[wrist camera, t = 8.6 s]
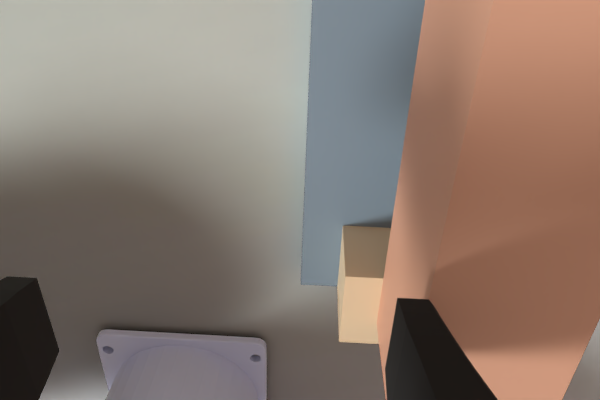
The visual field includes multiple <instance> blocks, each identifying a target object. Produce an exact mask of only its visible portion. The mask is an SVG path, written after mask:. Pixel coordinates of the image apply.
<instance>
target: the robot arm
mask: <svg viewBox="0 0 600 400" xmlns="http://www.w3.org/2000/svg"><path fill="white" fill-rule="evenodd" d="M96 343H97V347H98V351H99V355H100V359H101V363H102V367H103V370H104V374H105V378H106V382H107V386H108V390H109V393H108V395H107V397H106V399H105V400H267V345H266V343H265V341H264V340H262V339H260V338H254V337H236V336H218V335H200V334H182V333H165V332H147V331H129V330H111V329H105V330H102V331H100V332H99V334H98V336H97V338H96ZM58 352H59V348H58V345H57V342H56V338H55V335H54V332H53V329H52V326H51V322H50V319H49V316H48V313H47V310H46V306H45V303H44V300H43V297H42V294H41V290H40V287H39V284H38V281H37V278H22V277H6V278H4V279H2V280H0V400H39V398H40V395H41V393H42V391H43V388H44V386H45V384H46V382H47V379H48V377H49V375H50V372H51V370H52V367H53V365H54V362H55V360H56V357H57V355H58ZM255 355H259V356H255ZM385 377H386V392H387V400H498V399H497V398H496V397H495V395H494V394H493V392H492V391H491V390H490V388H489V387H488V386H487V384H486V383H485V381H484V380H483V379H482V377H481V376H480V375H479V373H478V372H477V371H476V369H475V368H474V366H473V365H472V363H471V362H470V361H469V359H468V358H467V356H466V355H465V353H464V352H463V350H462V349H461V347H460V346H459V344H458V343H457V341H456V340H455V338H454V337H453V335H452V334H451V332H450V331H449V329H448V328H447V326H446V324H445V323H444V321H443V320H442V318H441V316H440V315H439V313H438V312H437V310H436V308H435V307H434V305H433V304H432V303H431V302H430V300H429V299H411V298H397V303H396V309H395V314H394V320H393V326H392V332H391V337H390V343H389V349H388V355H387V360H386V366H385Z"/></svg>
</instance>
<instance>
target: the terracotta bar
mask: <svg viewBox="0 0 600 400" xmlns="http://www.w3.org/2000/svg"><path fill="white" fill-rule="evenodd" d="M397 298H411V299H429V300H430V302H431V303H432V304H433V305H434V307H435V308H436V310H437V312H438V313H439V315H440V316H441V318H442V320H443V321H444V323H445V324H446V326H447V328H448V329H449V331H450V332H451V334H452V335H453V337H454V338H455V340H456V341H457V343H458V344H459V346H460V347H461V349H462V350H463V352H464V353H465V355H466V356H467V358H468V359H469V361H470V362H471V363H472V365H473V366H474V368H475V369H476V371H477V372H478V373H479V375H480V376H481V377H482V379H483V380H484V381H485V383H486V384H487V386H488V387H489V388H490V390H491V391H492V392H493V394H494V395H495V397H496V398H497V399H498V400H562V399H563V397H564V394H565V392H566V390H567V388H568V386H569V384H570V381H571V379H572V377H573V375H574V373H575V371H576V369H577V366H578V364H579V362H580V360H581V358H582V356H583V353H584V351H585V349H586V347H587V345H588V343H589V340H590V338H591V336H592V334H593V332H594V330H595V328H596V325H597V323H598V321H599V319H600V0H425V5H424V12H423V18H422V25H421V32H420V38H419V45H418V52H417V58H416V65H415V72H414V78H413V85H412V92H411V98H410V105H409V111H408V118H407V125H406V131H405V138H404V145H403V151H402V158H401V165H400V171H399V178H398V185H397V191H396V198H395V205H394V211H393V218H392V225H391V231H390V238H389V245H388V251H387V258H386V264H385V271H384V278H383V284H382V291H381V298H380V304H379V311H378V318H377V331H378V340H379V348H380V356H381V365H382V373H383V381H384V390H385V398H386V400H387V392H386V377H385V366H386V360H387V355H388V349H389V343H390V337H391V332H392V326H393V320H394V314H395V309H396V303H397Z"/></svg>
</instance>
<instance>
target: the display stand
mask: <svg viewBox="0 0 600 400" xmlns="http://www.w3.org/2000/svg"><path fill="white" fill-rule="evenodd" d="M424 5H425V0H312V19H311V44H310V68H309V93H308V118H307V142H306V167H305V192H304V216H303V241H302V266H301V284H302V285H321V286H337V293H338V328H339V342H351V343H369V344H379V340H378V331H377V318H378V311H379V304H380V298H381V291H382V284H383V278H384V271H385V264H386V258H387V251H388V245H389V238H390V231H391V225H392V218H393V211H394V205H395V198H396V191H397V185H398V178H399V171H400V165H401V158H402V151H403V145H404V138H405V131H406V125H407V118H408V111H409V105H410V98H411V92H412V85H413V78H414V72H415V65H416V58H417V52H418V45H419V38H420V32H421V25H422V18H423V12H424Z"/></svg>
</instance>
